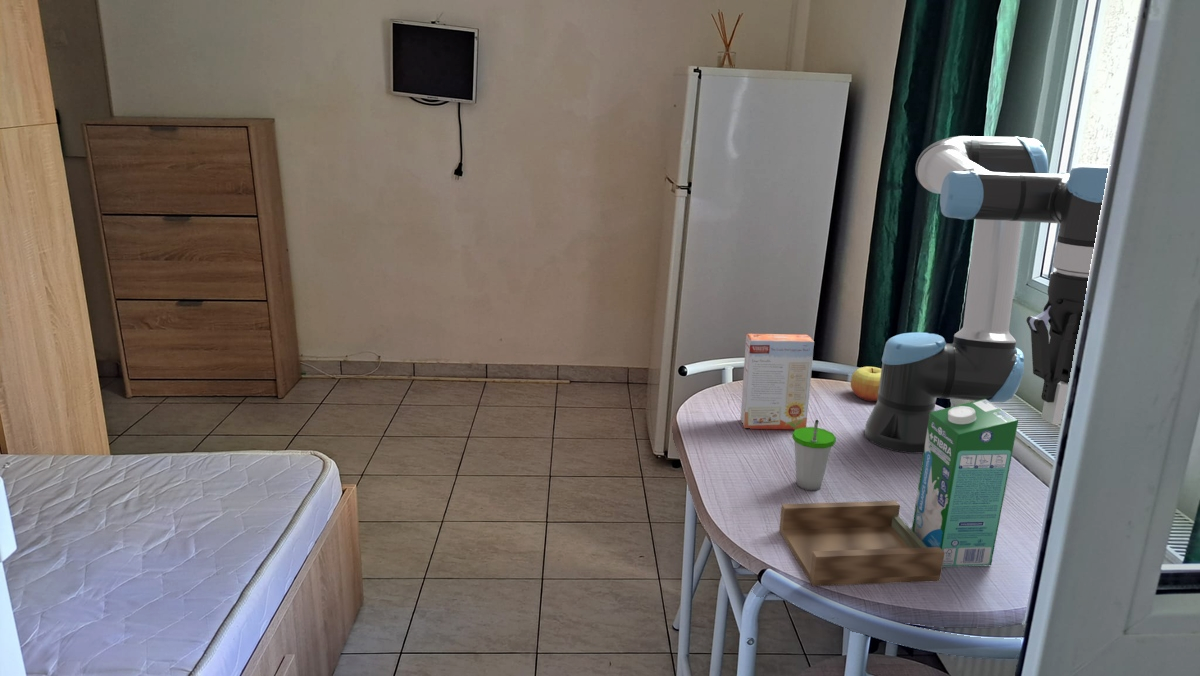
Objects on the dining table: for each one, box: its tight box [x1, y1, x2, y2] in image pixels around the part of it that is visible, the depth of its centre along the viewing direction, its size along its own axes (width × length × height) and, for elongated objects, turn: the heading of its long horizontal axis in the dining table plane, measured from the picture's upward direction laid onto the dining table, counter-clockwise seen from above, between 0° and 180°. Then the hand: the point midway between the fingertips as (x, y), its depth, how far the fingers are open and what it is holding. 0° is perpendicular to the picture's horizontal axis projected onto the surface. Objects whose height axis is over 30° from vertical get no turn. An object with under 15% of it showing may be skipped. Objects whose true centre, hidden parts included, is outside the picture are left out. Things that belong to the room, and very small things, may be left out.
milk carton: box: [911, 399, 1019, 568], centre depth 124 cm, size 9×9×25 cm
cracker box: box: [740, 333, 815, 430], centre depth 174 cm, size 14×6×21 cm, turn 89°
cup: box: [791, 419, 837, 491], centre depth 147 cm, size 8×8×15 cm
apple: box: [850, 366, 882, 402], centre depth 194 cm, size 10×10×8 cm
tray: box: [778, 500, 945, 587], centre depth 125 cm, size 20×16×5 cm
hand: (1051, 420), depth 122 cm, fingers closed
